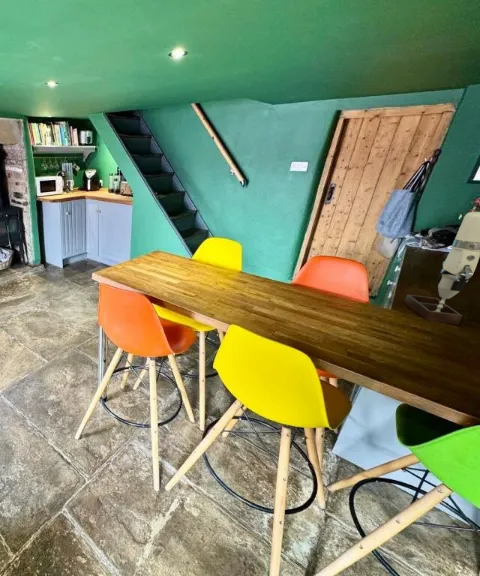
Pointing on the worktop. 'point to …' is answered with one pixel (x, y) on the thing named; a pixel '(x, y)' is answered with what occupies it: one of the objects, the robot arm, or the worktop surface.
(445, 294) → the chalice
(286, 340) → the worktop surface
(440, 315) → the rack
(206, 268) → the worktop surface
